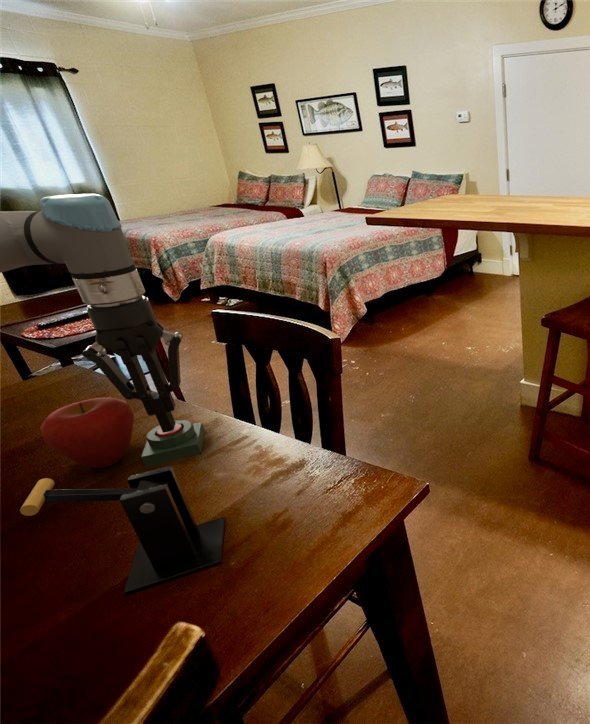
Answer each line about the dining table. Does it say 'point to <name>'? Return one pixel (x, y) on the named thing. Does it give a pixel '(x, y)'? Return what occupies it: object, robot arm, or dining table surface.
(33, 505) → the lever
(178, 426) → the button
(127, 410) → the apple
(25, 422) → the dining table surface
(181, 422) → the button box
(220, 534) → the bracket
